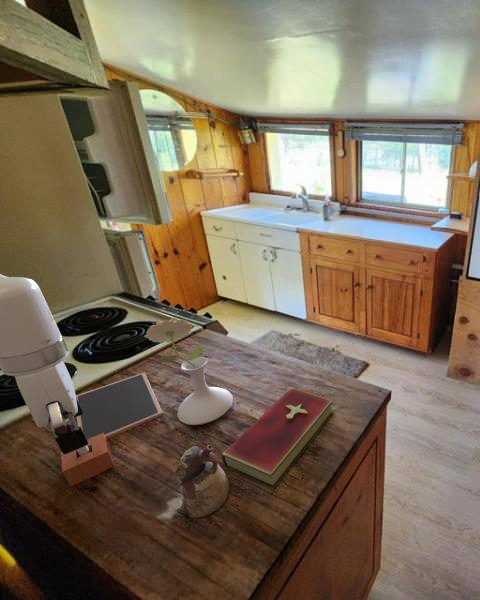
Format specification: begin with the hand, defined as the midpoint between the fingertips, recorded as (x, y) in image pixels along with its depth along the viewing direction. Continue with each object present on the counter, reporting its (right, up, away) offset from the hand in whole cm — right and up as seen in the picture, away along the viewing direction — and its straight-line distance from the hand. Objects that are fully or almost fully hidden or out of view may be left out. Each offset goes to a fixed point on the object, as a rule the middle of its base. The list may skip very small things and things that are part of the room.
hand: (74, 432), depth 59 cm
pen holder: (0, -8, +4) cm, 9 cm away
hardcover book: (+34, -6, +12) cm, 37 cm away
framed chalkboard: (-7, -1, +18) cm, 19 cm away
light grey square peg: (0, -8, +4) cm, 9 cm away
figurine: (+25, -11, -1) cm, 28 cm away
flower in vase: (+13, -2, +17) cm, 22 cm away
